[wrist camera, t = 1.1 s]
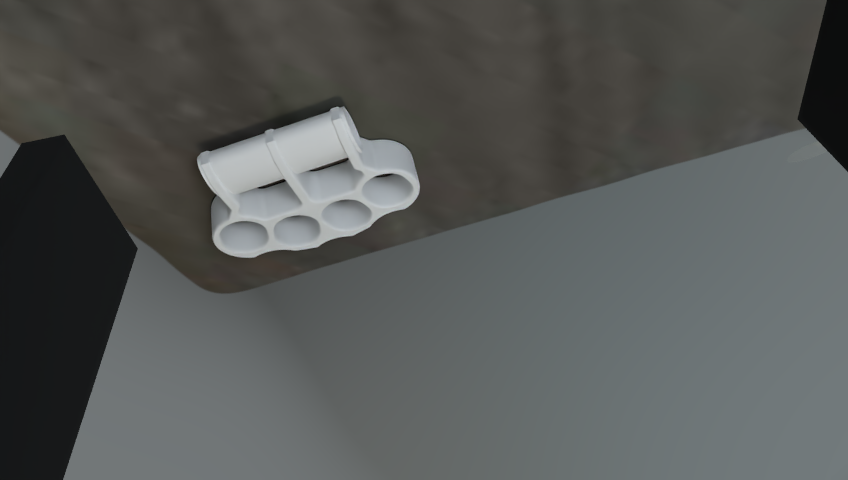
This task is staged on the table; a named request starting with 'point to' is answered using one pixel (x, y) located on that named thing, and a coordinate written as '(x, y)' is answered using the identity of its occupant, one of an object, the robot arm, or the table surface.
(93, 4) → the table surface
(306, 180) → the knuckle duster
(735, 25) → the table surface
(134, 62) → the table surface
